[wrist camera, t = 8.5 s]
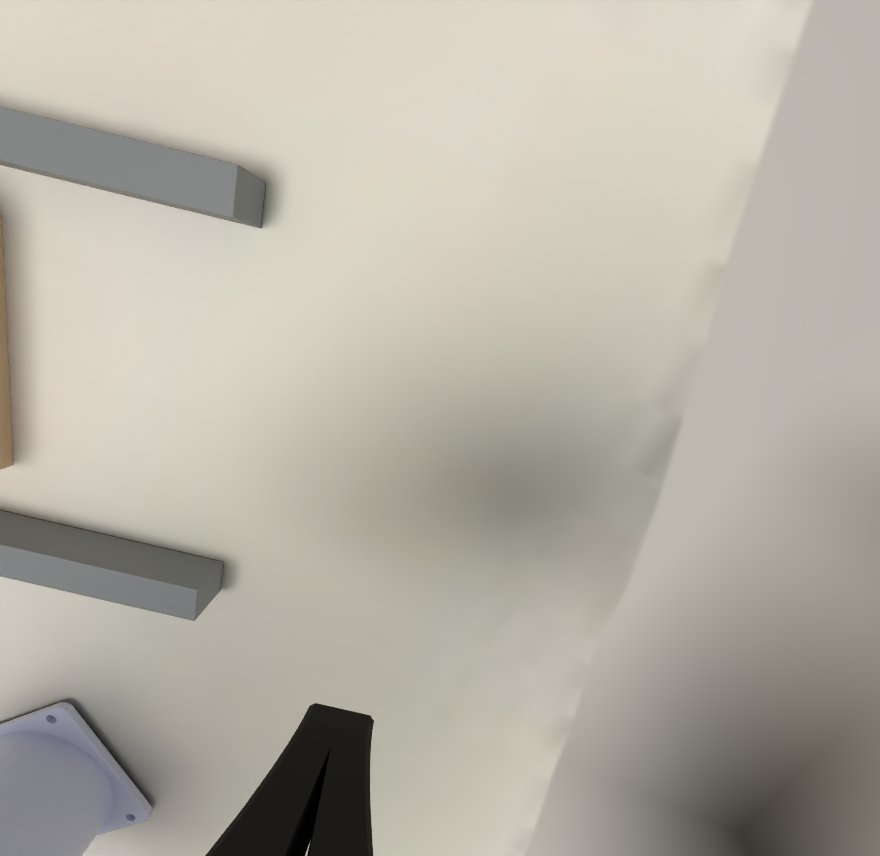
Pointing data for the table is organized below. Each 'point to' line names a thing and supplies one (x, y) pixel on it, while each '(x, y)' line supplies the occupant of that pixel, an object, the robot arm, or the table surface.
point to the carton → (4, 373)
